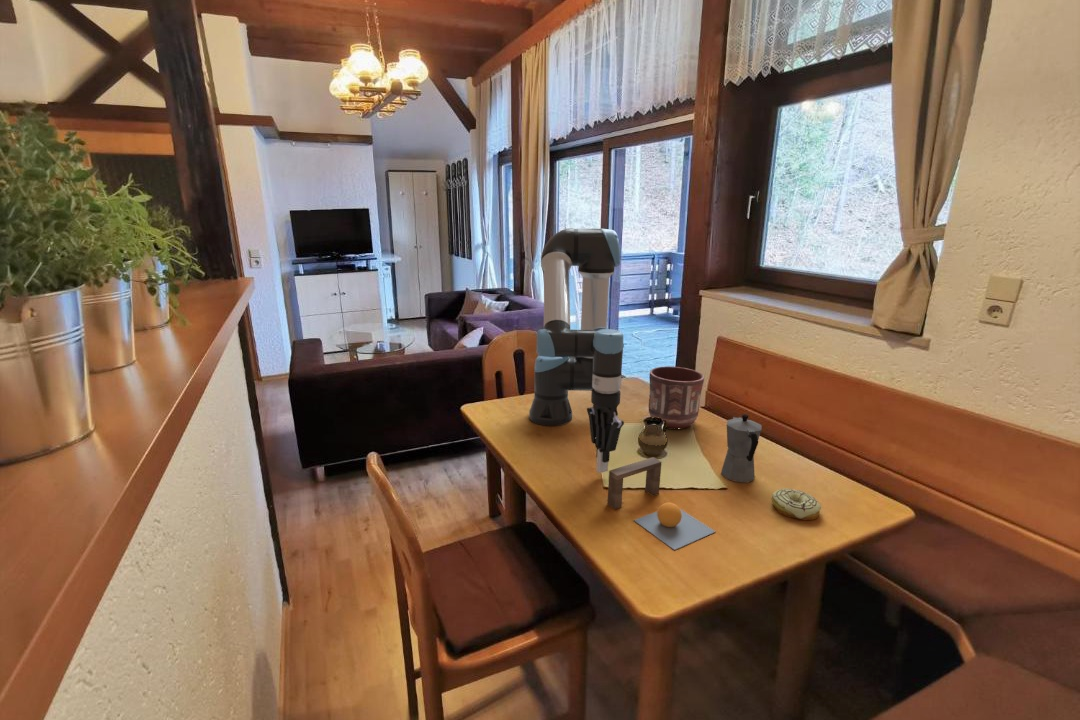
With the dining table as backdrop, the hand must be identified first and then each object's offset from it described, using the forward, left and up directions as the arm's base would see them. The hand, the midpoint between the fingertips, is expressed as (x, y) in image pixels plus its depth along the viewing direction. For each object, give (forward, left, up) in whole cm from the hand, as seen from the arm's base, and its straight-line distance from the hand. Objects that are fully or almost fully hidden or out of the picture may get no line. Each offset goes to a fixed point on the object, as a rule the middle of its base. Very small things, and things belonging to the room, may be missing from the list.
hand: (602, 470), depth 143 cm
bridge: (+13, 0, -2) cm, 13 cm away
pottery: (-18, +45, -2) cm, 49 cm away
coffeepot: (+19, +33, -2) cm, 38 cm away
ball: (+26, -1, +1) cm, 26 cm away
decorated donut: (+37, +31, -2) cm, 48 cm away
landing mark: (+27, 0, -2) cm, 27 cm away
